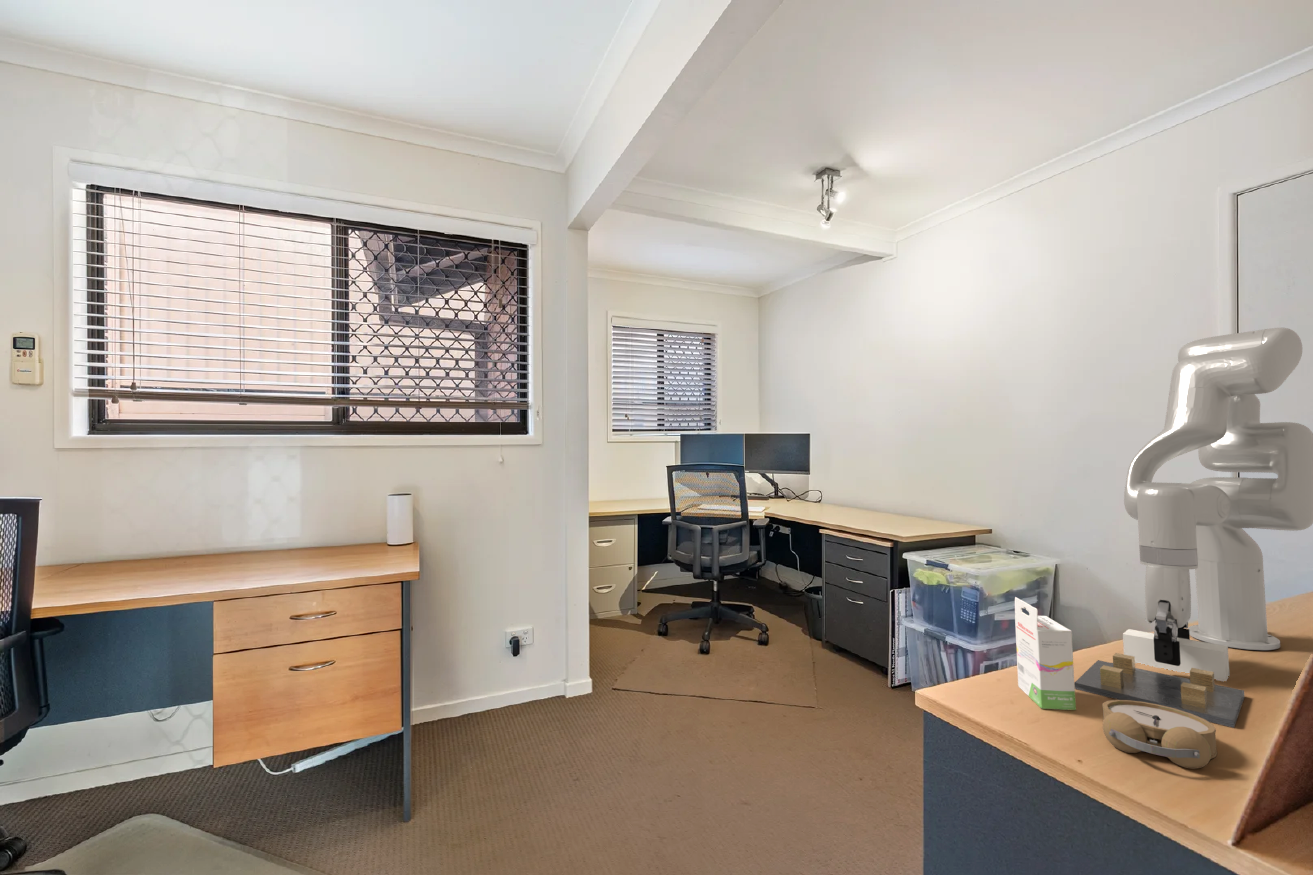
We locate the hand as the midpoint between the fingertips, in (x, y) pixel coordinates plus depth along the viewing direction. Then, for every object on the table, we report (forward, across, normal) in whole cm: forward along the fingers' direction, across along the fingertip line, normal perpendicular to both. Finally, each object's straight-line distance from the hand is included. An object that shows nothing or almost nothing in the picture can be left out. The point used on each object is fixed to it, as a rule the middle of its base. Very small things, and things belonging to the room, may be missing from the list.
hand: (1172, 656), depth 98 cm
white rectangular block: (+2, 0, 0) cm, 2 cm away
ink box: (+3, +28, -11) cm, 31 cm away
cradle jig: (+2, +14, 0) cm, 15 cm away
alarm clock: (+3, +35, +3) cm, 35 cm away
